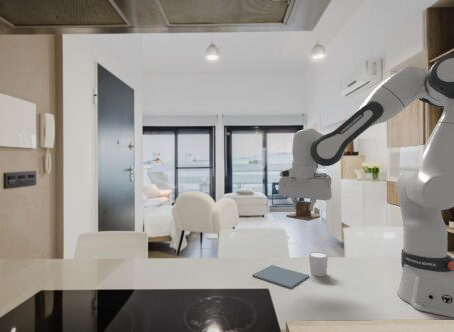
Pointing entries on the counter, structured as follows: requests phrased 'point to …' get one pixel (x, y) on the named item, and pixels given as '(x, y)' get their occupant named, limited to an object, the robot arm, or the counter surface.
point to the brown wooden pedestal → (303, 212)
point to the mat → (281, 276)
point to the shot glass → (318, 263)
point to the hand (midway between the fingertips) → (303, 210)
